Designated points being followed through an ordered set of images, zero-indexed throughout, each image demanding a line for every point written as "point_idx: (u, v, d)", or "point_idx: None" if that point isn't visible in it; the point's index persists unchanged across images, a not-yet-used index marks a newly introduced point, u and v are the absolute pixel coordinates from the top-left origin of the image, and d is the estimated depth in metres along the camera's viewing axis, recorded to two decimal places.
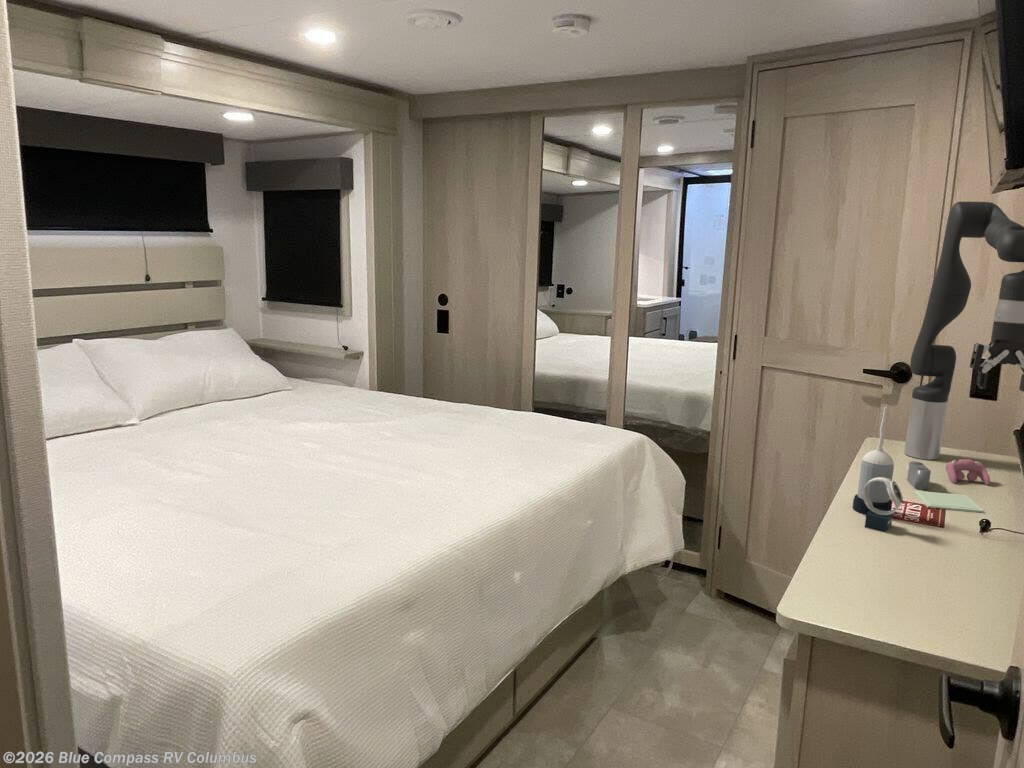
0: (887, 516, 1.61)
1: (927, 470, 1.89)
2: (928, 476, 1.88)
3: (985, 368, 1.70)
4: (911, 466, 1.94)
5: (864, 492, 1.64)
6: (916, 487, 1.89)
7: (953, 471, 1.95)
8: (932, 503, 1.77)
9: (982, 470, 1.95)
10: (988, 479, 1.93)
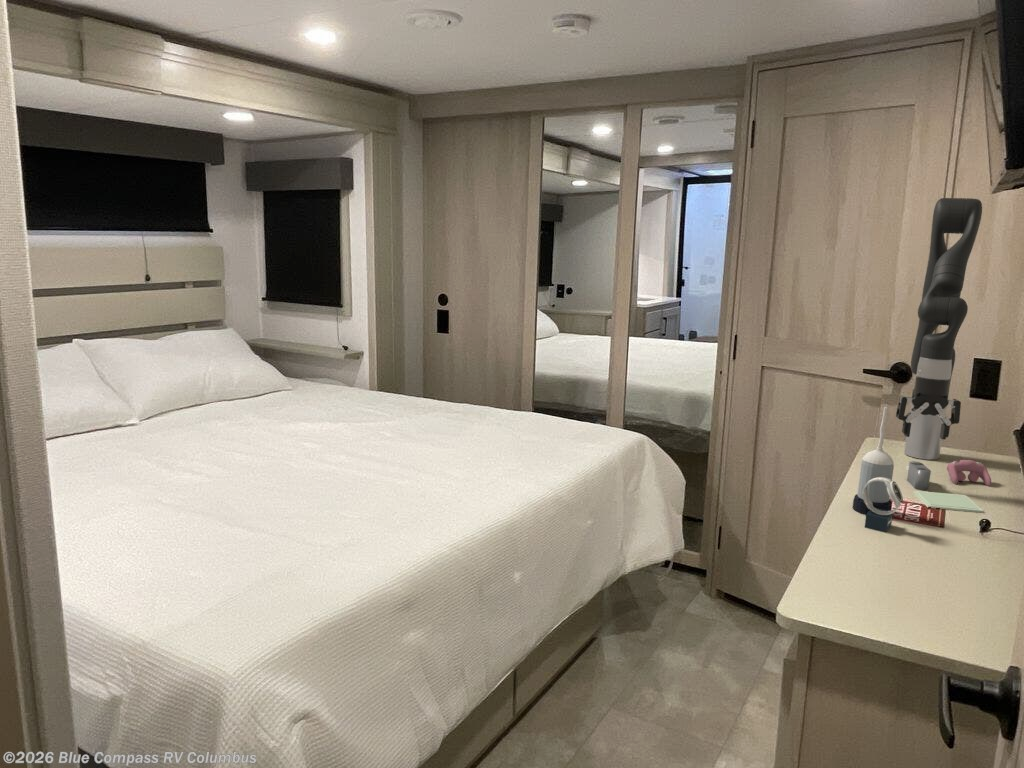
0: (887, 516, 1.61)
1: (927, 470, 1.89)
2: (928, 476, 1.88)
3: (908, 418, 1.89)
4: (911, 466, 1.94)
5: (864, 492, 1.64)
6: (916, 487, 1.89)
7: (954, 472, 1.95)
8: (932, 503, 1.77)
9: (983, 471, 1.95)
10: (989, 480, 1.93)
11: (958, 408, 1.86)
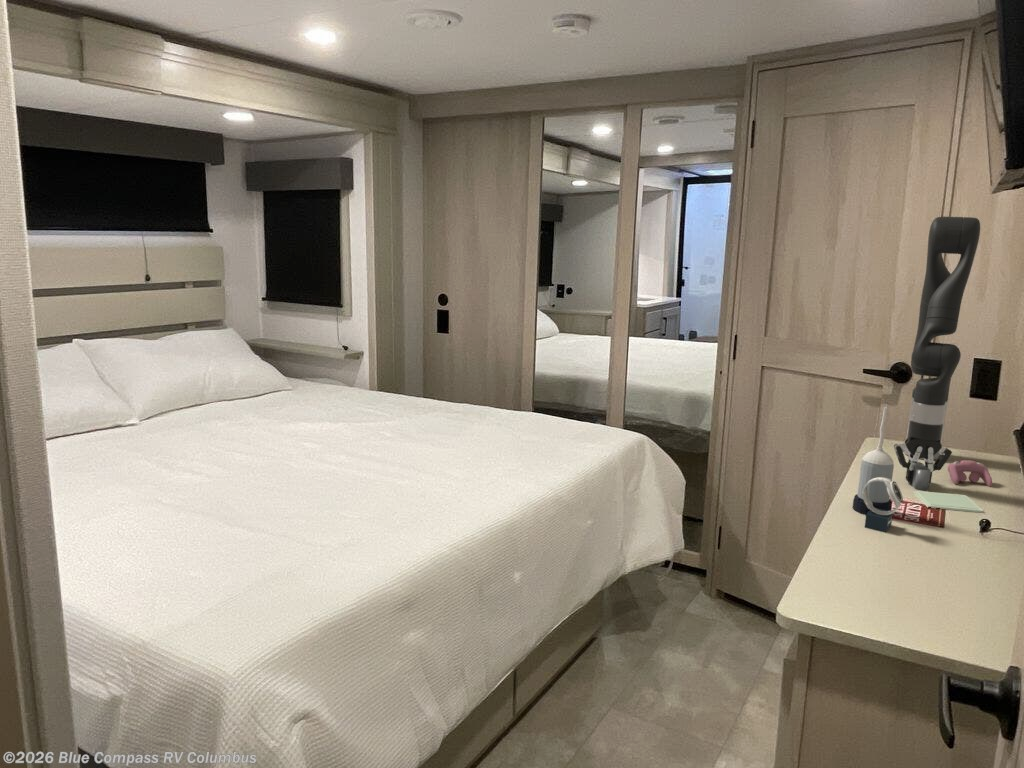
0: (887, 516, 1.61)
1: (927, 469, 1.89)
2: (928, 476, 1.88)
3: (912, 466, 1.91)
4: None
5: (864, 492, 1.64)
6: (916, 487, 1.89)
7: (955, 472, 1.94)
8: (932, 503, 1.77)
9: (984, 471, 1.94)
10: (990, 480, 1.93)
11: (946, 457, 1.89)
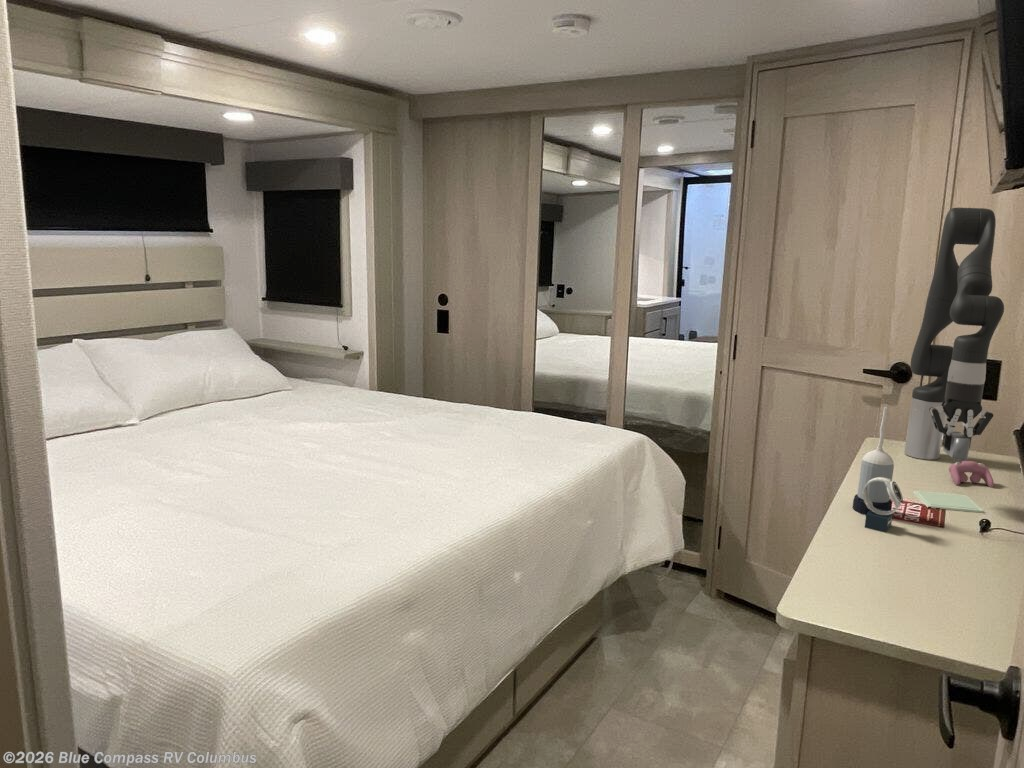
0: (887, 516, 1.61)
1: (966, 438, 1.74)
2: (967, 444, 1.73)
3: (950, 431, 1.76)
4: None
5: (864, 492, 1.64)
6: (954, 457, 1.74)
7: (956, 473, 1.94)
8: (932, 503, 1.77)
9: (985, 472, 1.94)
10: (991, 481, 1.92)
11: (987, 420, 1.74)
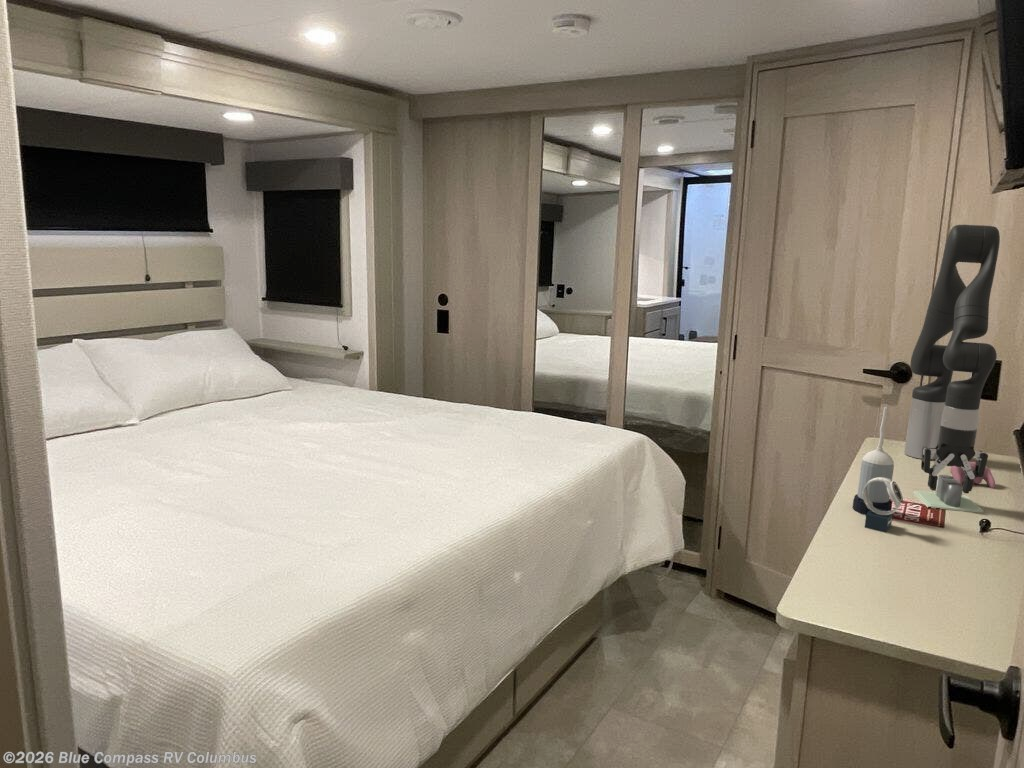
0: (887, 516, 1.61)
1: (959, 484, 1.76)
2: (960, 491, 1.75)
3: (935, 471, 1.78)
4: (941, 480, 1.81)
5: (864, 492, 1.64)
6: (947, 503, 1.77)
7: (958, 474, 1.93)
8: (932, 503, 1.77)
9: (987, 473, 1.93)
10: (993, 482, 1.91)
11: (984, 461, 1.76)
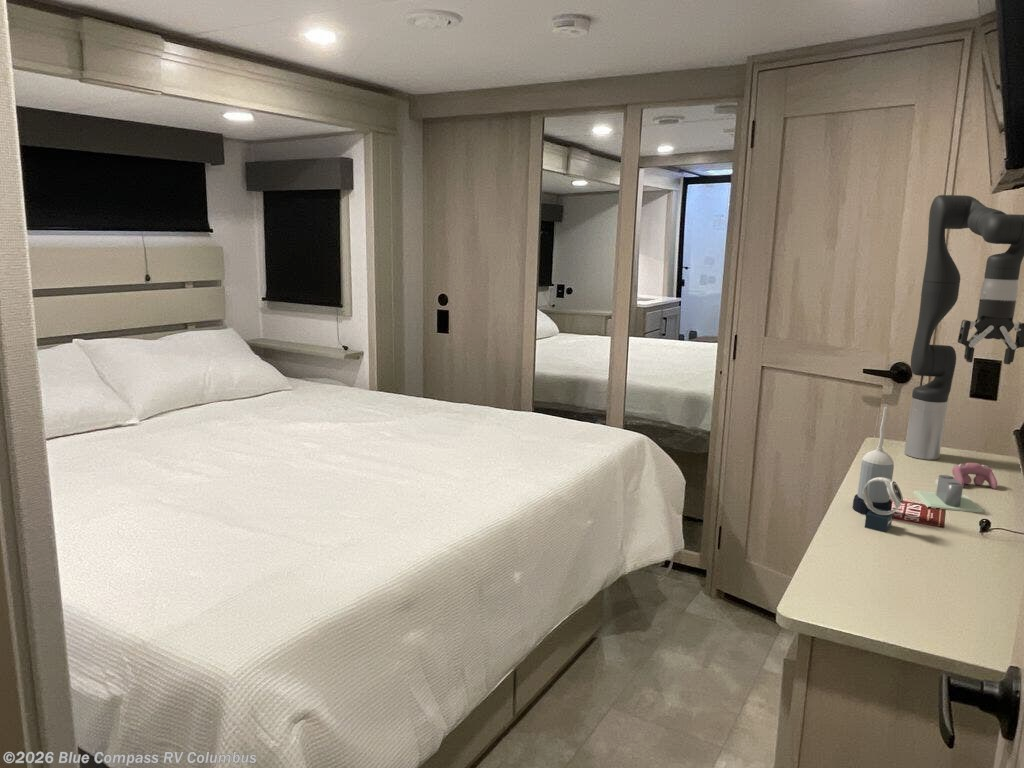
0: (887, 516, 1.61)
1: (959, 484, 1.76)
2: (960, 491, 1.75)
3: (972, 343, 1.83)
4: (941, 480, 1.81)
5: (864, 492, 1.64)
6: (947, 503, 1.77)
7: (960, 475, 1.92)
8: (932, 503, 1.77)
9: (989, 474, 1.92)
10: (995, 483, 1.91)
11: None
